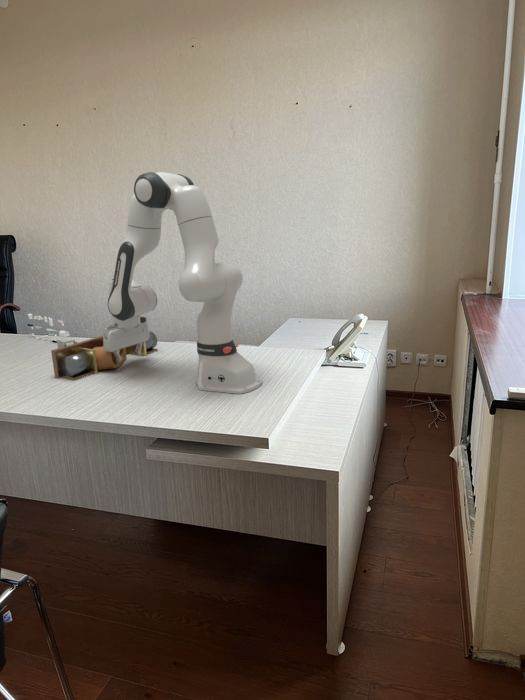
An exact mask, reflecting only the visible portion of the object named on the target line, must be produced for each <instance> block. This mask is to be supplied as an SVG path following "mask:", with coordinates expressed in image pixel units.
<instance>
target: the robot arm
mask: <svg viewBox="0 0 525 700" xmlns="http://www.w3.org/2000/svg"><path fill="white" fill-rule="evenodd" d="M133 192H134V194H132V197H131V198H130V203H129V207H128V214H127V223H126V225H127V227H126V233H125V236H124V240H123V241H122V244H121V245H120V247H119V248H118V252H117V256H116V262H115V267H114V275H113V278H112V279H111V280H110V282H109V287H108V289H109V290H108V294H109V296H108V298H107V309H108V311H109V313H110V314H111V320H112V321H111V323H112V324H110V325H107V326H106V327H105V328H104V329H103V335H104V336H103V335H102V336H103V347H104V350H105V351H107V352H113V354H114V355H115V357H116V361H117V362H120V361H122V360H123V359H122V356H120V355H119V352H120V349H123V348H126V347H129V346H132V345H135V344H136V345H137V347H136V350H134V352H135V355H134V356H138V355H140V354H141V348H142V342H144V341H147V340H148V339H149V331H150V328H149V325H148V323H147V322H148V317H147V316H144V314H148V313H150V312H153V311H155V309H156V307H157V305H158V298H157V294H156V292H155V291H154V289H153V288H151V287H150V286H146V285H144V284H141V283H138V282H137V281H135V280H134V278H133V276H134V270H135V268H136V266H137V264H138V263H139V262H140V260H142V259H143V258H145V256H148V255H149V254H151V253H152V252H153V251H154V250H156V248H157V247H158V246H159V244H160V240H161V234H162V216H163V214H164V212H165V211H166V210H168V209H169V210H172V211H173V213H174V215H175V218H176V221H177V222H176V223H177V226H178V230H179V233H180V237H181V241H182V245H183V250H184V263H183V264H184V265H183V271H182V273H181V275H180V277H179V280H178V289H179V292H180V294H181V296H182V297H183V298H184V299H185V300H187V302H190V303H191V302H193V303H203V305H202V309H201V310H200V312H199V313H198V314H197V315H198V316H197V317H196V318H197V319H196V326H197V328H196V329H197V330H196V331H197V341H196V350H197V354H198V360H197V361H198V363H197V364H198V365H197V372H196V373H197V374H196V380H195V384H196V385H197V390H199V391H207V392H215V393H216V392H218V393H227V394H236V395H237V394H240V395H241V394H245V393H249V392H252V391H255V390H256V389H257V388H259V387H260V386H262V385H263V379H262V378H260V377H257V376H256V371H255V368H254V367H255V366H254V365H253V364H252V363H251V362H249V361H248V360H247V359H246V358H245V357H244V356H243V355H241V354H240V353H239V352H238V349H237V348H238V347H240V343H239V342H238V343H235V342H234V340H233V338H232V337H233V336H232V316H233V314H232V313H233V309H234V304H235V300H236V297H237V293H238V291H239V289H240V288H241V286H242V284H243V280H244V279H243V274H242V271H241V269H240V268H239V267H238V266H237V265H236V264H234V263H229V262H225V261H224V262H217V263H216V261H215V260H216V259H215V252H216V248H217V246H218V245H219V237H218V233H217V229H216V225H215V222H214V221H215V220H214V218H213V217H214V216H213V214H212V211H211V207H210V206H209V203H208V200H207V198H206V196H205V194H204V192H203V190H202V189H201V188H200V186H197V185H195V184H194V182H193V181H192V179H191V178H189V177H188V176H185V175H183V174H180V173H178V174H177V173H170V172H167V171H166V172H165V171H159V172H152V171H149V172H144V173H142V174H140V175H138V177H137V178H136V179H135V182H134V185H133Z"/></svg>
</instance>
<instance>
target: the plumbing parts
mask: <svg viewBox="0 0 525 700" xmlns="http://www.w3.org/2000/svg"><path fill="white" fill-rule="evenodd" d="M33 315H34V314H32V313H28V314H27V317H28V319H29V320H34V321H35V320H38V321H40V320H41V321H43V320H44V323H48V324H49V326H50V327H53V326H54V321H53V318H52V317H50V316H48V317H47V316H44V317H42V315H34V316H33ZM57 323H60V324H61V326H62V327H64V326H65V324H64V321H63V320H59V319H57ZM27 326H28V327H31V330H34V328H35V329H37V330H39V329H43V326H38V325H34V324H30V323H28V324H27ZM45 330H46V331H47V332H57V330H55V329H52V328H46V329H45ZM28 336H30V337H32V338H35V342H37V341H41V340H42V341H43V340H44V341H48V339H49V337H48V336H49V335H48V334H45V335H42V336H38V335H35V333H34V332H32V333H29V334H28ZM58 336H59V337H62V338H66V337H69V336H71V335H70V332H69V331H68V330H63V329H61V330H59V331H58ZM50 341H51V342H52V343H55V344H57V339H54V338H50Z"/></svg>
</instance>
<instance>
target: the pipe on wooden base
mask: <svg viewBox="0 0 525 700" xmlns="http://www.w3.org/2000/svg"><path fill="white" fill-rule="evenodd" d="M103 336H104V334H103V335H101V336H97V337H93V338H90V339H86V340H82V341H79V342H77V343H75V344H72V345H68V346H65V347H61V348H58V347H57V348H55V349H51V350H50V351H51V359H52V366H53V373H54V378H56V379H60V378H62V379H67V380H71V381H77V380H79V378H80V379H82V377H83V378H85V377H88V376H91V375H95V374H96V375H98V374H99V373H98V371H99V370H97V361H96V353H95V350H94V349H93V348H95V347H103ZM157 345H158V338H157V335H156V333H154V332H153V331H151V330H149V339H148V340H147V341H144V342H142V348H141V354H140V355H139V356H138V357H144V356H145V357H147V356H148V355H149V354H152V353H154V351H155V352H157V351H158V348H156V347H157ZM136 347H137V345H136V344H135V345H132V346H129V347H126V356H127V355H132V356H136V355H135V352H134V350H136ZM151 352H152V353H151ZM90 374H91V375H90ZM87 375H88V376H87ZM84 376H85V377H84Z"/></svg>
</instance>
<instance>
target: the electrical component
mask: <svg viewBox="0 0 525 700" xmlns="http://www.w3.org/2000/svg"><path fill="white" fill-rule="evenodd" d="M56 340H57V343H56V344H57V349H58V348H61V347H65V346H68V345H72V344H75V343H78V341H75V339H74V338H71V337H69V336H67V337H62V338H57V339H56Z"/></svg>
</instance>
